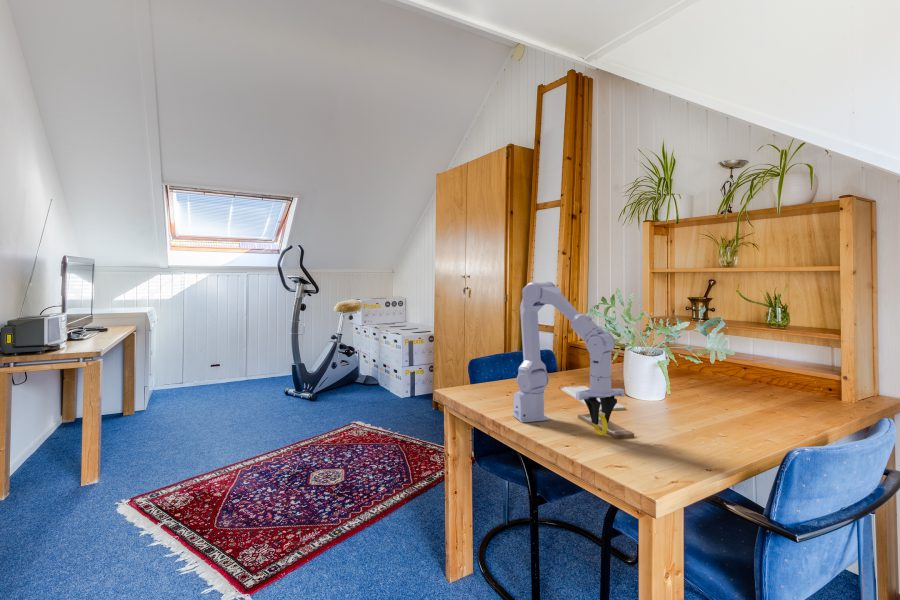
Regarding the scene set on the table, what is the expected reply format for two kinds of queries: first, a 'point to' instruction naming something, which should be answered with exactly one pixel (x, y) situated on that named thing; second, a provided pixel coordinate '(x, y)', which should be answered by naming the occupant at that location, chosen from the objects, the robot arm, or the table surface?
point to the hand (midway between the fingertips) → (600, 422)
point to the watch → (604, 425)
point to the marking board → (608, 427)
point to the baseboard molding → (573, 391)
